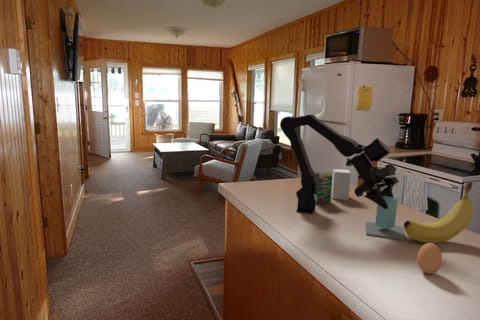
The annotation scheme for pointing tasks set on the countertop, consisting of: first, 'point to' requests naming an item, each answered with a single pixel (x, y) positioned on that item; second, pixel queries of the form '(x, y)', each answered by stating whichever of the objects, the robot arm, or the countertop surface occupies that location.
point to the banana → (443, 223)
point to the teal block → (387, 213)
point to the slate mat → (385, 231)
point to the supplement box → (341, 184)
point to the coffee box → (324, 189)
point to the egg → (429, 258)
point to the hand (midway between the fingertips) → (390, 207)
